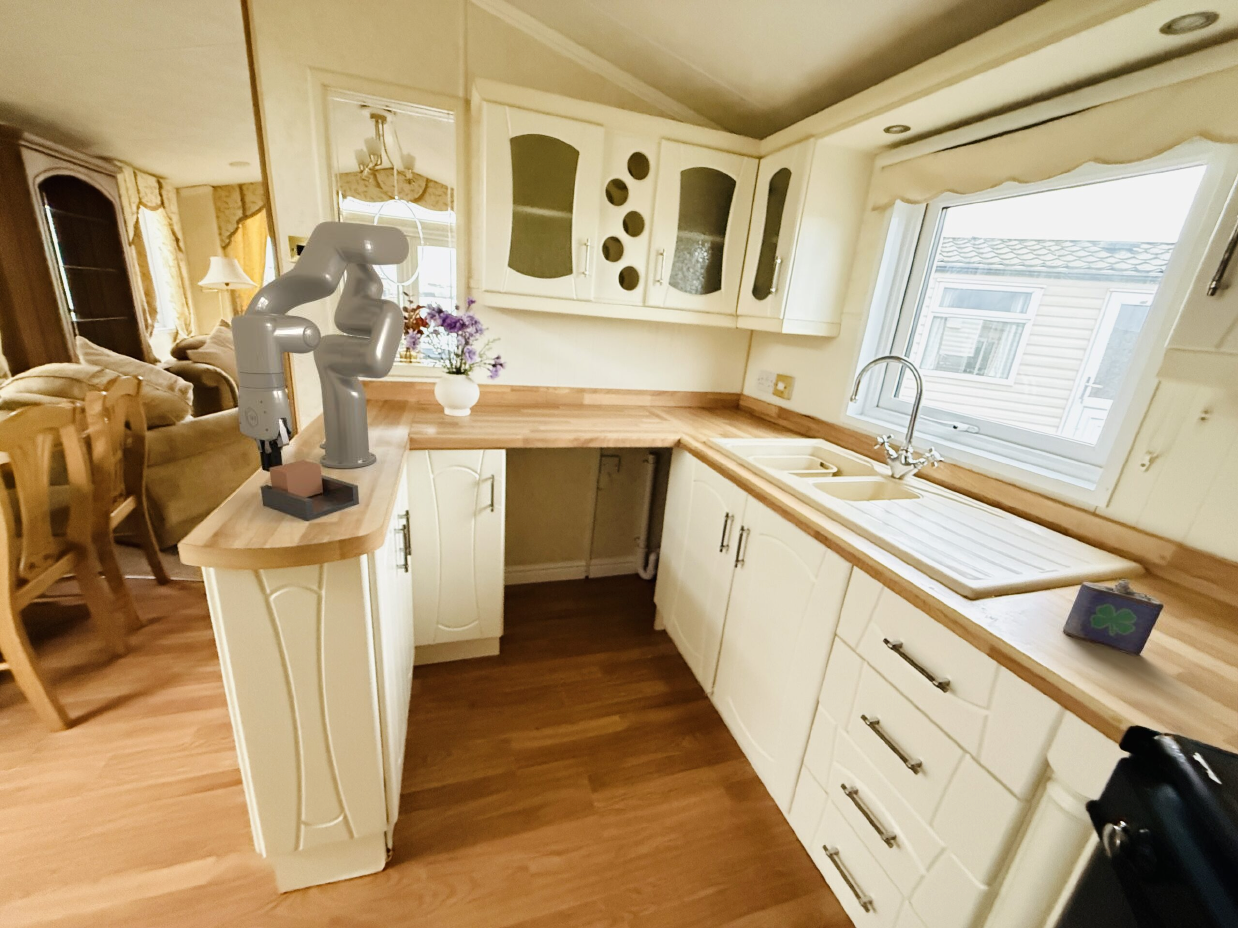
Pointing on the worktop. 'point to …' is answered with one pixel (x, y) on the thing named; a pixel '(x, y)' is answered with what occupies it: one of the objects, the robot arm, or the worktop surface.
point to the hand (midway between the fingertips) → (272, 469)
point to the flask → (1113, 616)
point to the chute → (312, 499)
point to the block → (298, 478)
